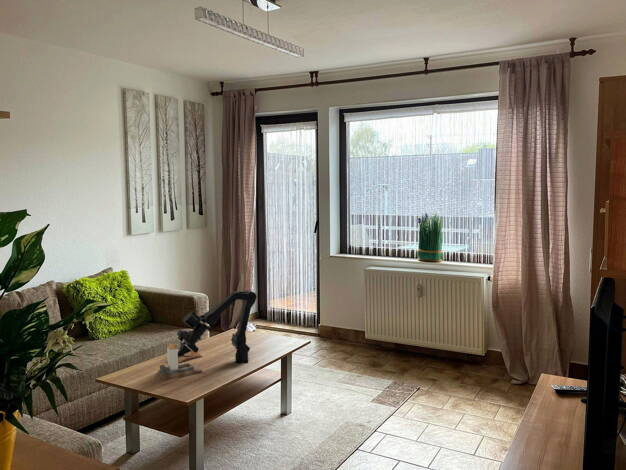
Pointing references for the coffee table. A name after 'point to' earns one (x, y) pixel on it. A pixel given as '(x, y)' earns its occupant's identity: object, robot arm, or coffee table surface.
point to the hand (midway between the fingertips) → (176, 356)
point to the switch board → (179, 371)
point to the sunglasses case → (188, 356)
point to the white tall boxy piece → (172, 357)
